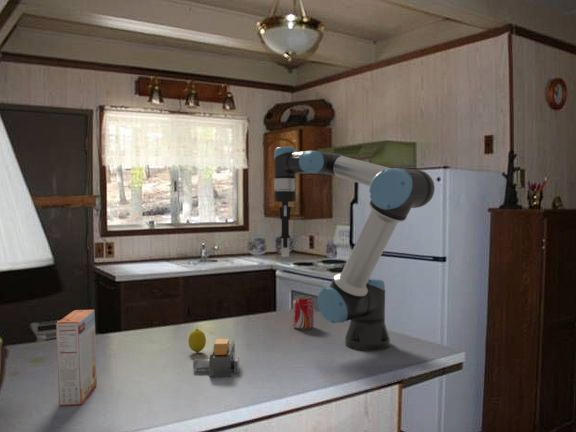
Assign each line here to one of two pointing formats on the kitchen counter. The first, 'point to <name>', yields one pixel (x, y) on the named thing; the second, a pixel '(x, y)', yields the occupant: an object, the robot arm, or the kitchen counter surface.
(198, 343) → the lemon
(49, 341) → the kitchen counter surface
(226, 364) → the block
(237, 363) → the pin
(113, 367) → the kitchen counter surface
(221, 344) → the block
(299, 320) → the beverage can
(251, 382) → the kitchen counter surface
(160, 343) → the kitchen counter surface
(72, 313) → the cracker box
